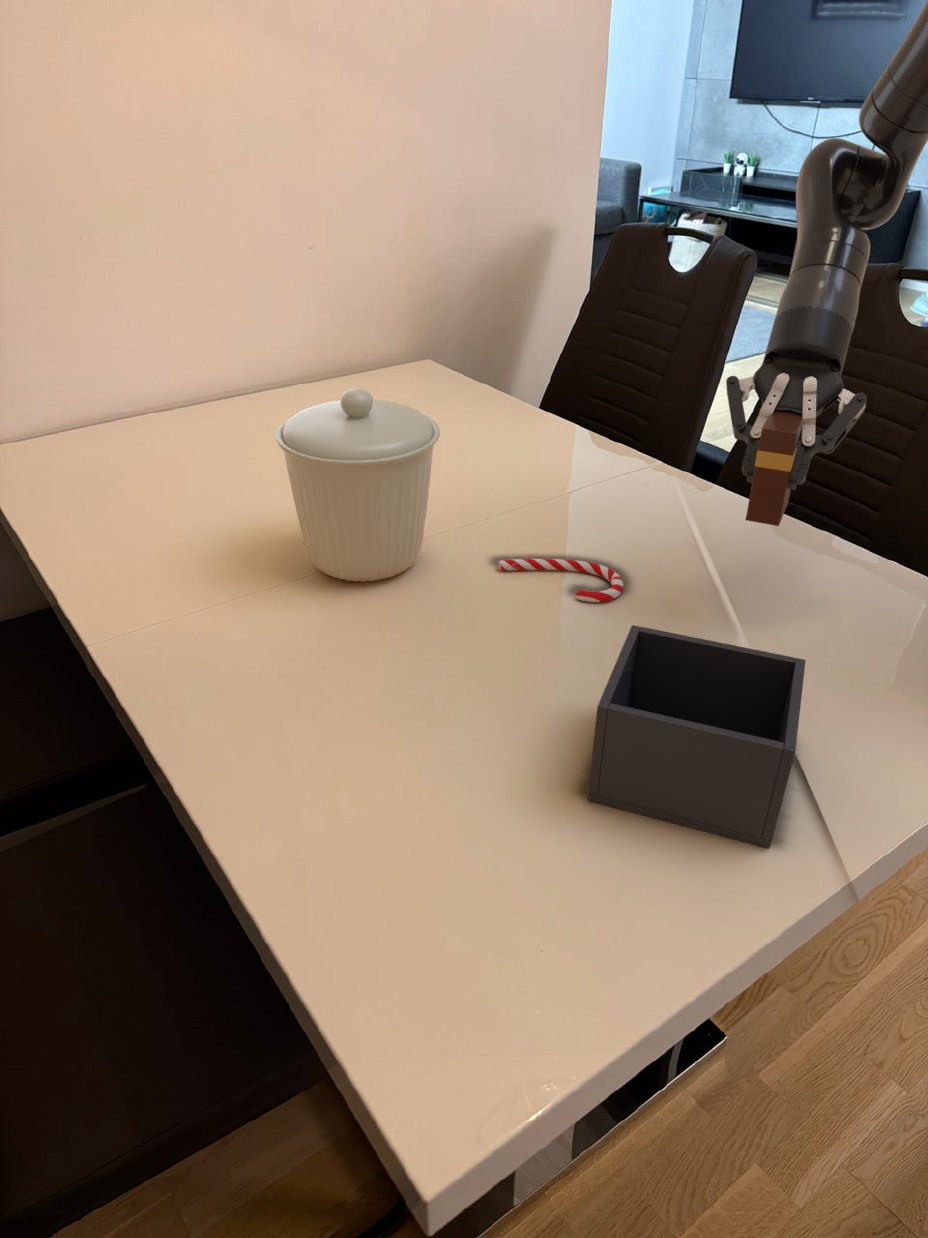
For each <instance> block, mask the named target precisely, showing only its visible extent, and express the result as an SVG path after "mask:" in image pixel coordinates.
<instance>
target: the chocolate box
mask: <svg viewBox="0 0 928 1238" xmlns="http://www.w3.org/2000/svg"><path fill="white" fill-rule="evenodd" d="M803 421H804V419H802V415H800V414H795V413H791V412H778V411H775V412H774V413H773V414H772V415H769V417H768V419H767V420H766V422H765V424H764V426H763V428H762V431H761V437H760V443H759V448H758V451H757V456H756V461H755V470H754V476H753V482H752V483H751V488H750V493H749V499H748V504H747V510H746V516H745V521H747V522H748V521H749V522H753V523H759V524H763V525H769V526H775V527H780V525H781V522H782V519H783V517H784V514H785V512H786V509H787V507H788V504H789V500H790V496H791V490H792V489H788V481H789V476H790V472H791V469H792V466H793V462H794V459H795V455H796V451H797V446H800V443H801V436H802V426H803Z"/></svg>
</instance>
